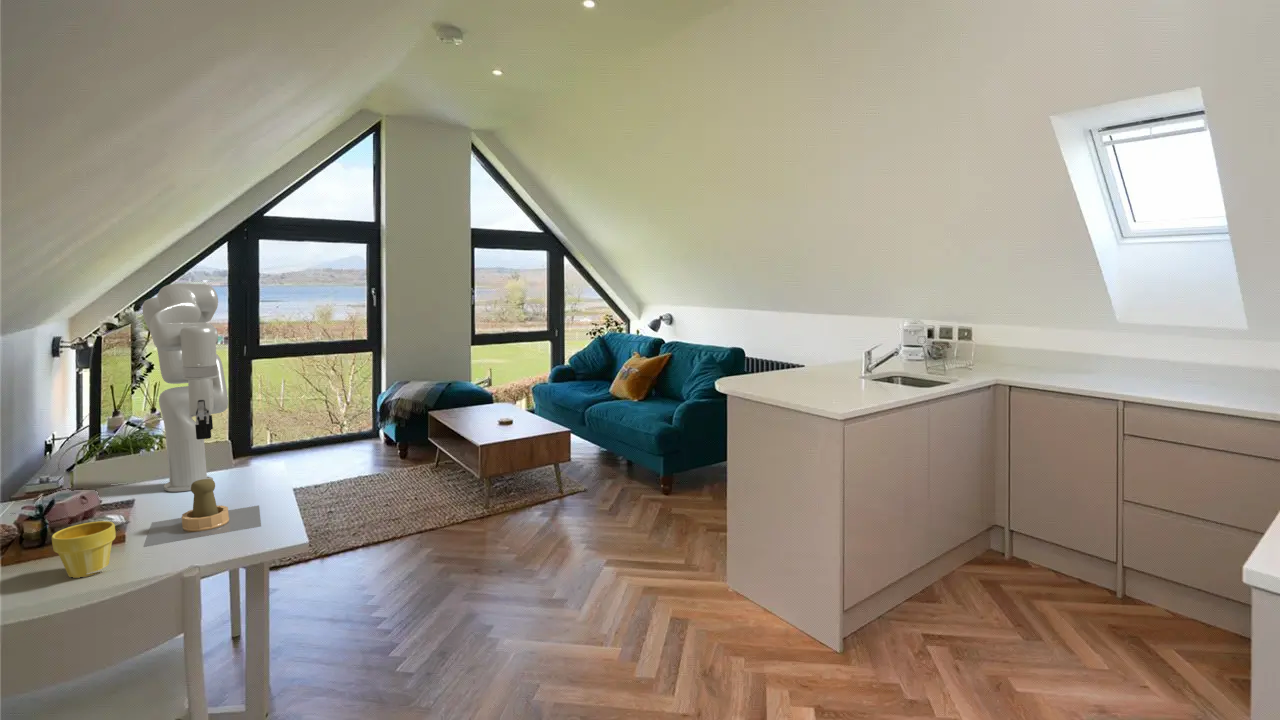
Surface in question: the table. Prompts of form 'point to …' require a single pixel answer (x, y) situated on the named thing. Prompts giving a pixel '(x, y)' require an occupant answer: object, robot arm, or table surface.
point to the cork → (203, 498)
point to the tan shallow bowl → (205, 520)
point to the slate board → (174, 531)
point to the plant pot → (84, 547)
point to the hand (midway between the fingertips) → (204, 434)
